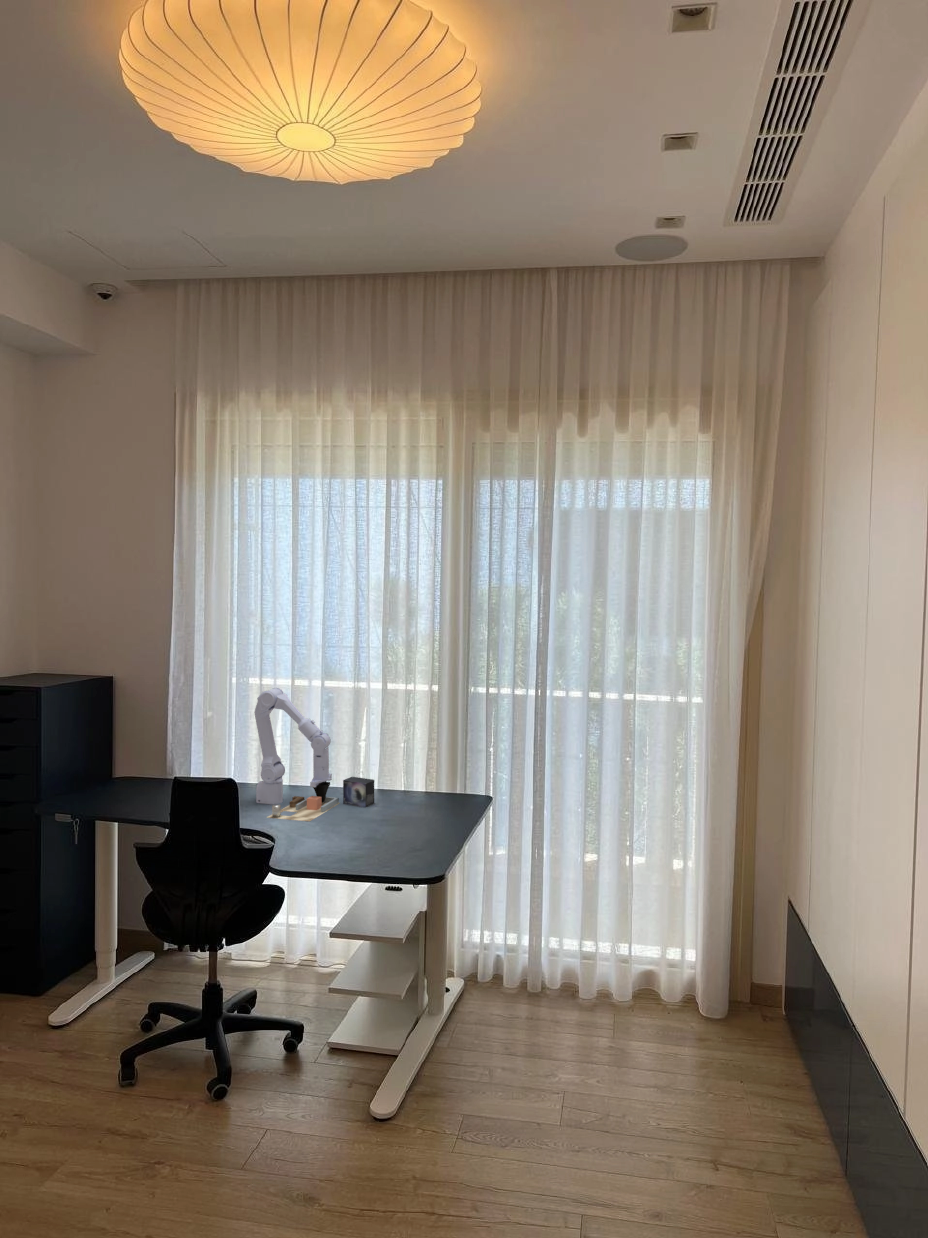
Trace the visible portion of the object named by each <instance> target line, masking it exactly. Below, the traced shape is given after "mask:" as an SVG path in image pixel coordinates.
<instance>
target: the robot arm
mask: <svg viewBox="0 0 928 1238" xmlns="http://www.w3.org/2000/svg"><path fill="white" fill-rule="evenodd" d="M275 709H276V710H282V711H283V712H285V714H287V715H288V716H289V717H290V718H291V720H293V721H294V722H296V724H297V726H298V727H297V728H298V730H299V731H300V732H301V734H302V735H303V736H304V737H305V738H306V739H307V740H308V741H309V742H310V747H311V748H312V750H313V755H312V756H313V757H312V758H313V759H312V762H313V766H312V767H313V768H312V771H313V777H312V779H311V781H310V782H309V785H310V788H313V790H314V792H315V796H318V797H322V803H323V802H324V801H325V797H327V792H328V789H329V788H330V785H331V782H330V781H332V779H333V776H332V773H330V772H329V771H330V770H329V769H330V766H329V765H330V763H329V762H330V760H329V759H330V757H329V755H330V754H329V747H330V745H331V743H332V741H331V737H330V736H329V734H328V733H327V732H324V731H323V730H322V729H320V728H319V727H318V726H317V725H316V724H315V723H316V721H315V719H311V718H305V716H304V715H303V714H302V713H301V711H299V709H298V708H297V707H296V705H295V704H294V703H293V702H292V701H291V699H290V698H289V696H288V695H287V694H286V693H284V691H283V690H282V689H281V688H279V687H274V688H271V689H268V690H264V691H262V692H261V693H260V695H258V697H257V702H256V705H255V708H254V719H255V722H256V723H255V724H256V728H257V733H258V737H259V743H260V749H261V753H262V761H261V764H260V767H261V770H260V777H261V780H259V782H258V783H257V785H256V791H255V795H256V797H255V798H256V802H255V803H257V804H263V805H277V804H278V805H280V804H282V803H283V801H284V794H283V793H284V792H283V791H284V788H283V787H284V785H283V783H284V782H283V780H284V779H283V776H285V773H286V767H285V765H284V764H283V763H282V758H281V757H280V755H278V752H277V747H276V740H275V737H274V736H275V735H274V732H273V731H274V730H273V727H272V721H271V714H272V711H273V710H275Z"/></svg>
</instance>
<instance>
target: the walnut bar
mask: <svg viewBox="0 0 928 1238" xmlns="http://www.w3.org/2000/svg"><path fill="white" fill-rule="evenodd" d="M303 800H305V796H297V795H293V797H292V800H290V801H289V805H290V807H296V804H298V803H300V802H301V801H303Z"/></svg>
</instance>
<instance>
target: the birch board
mask: <svg viewBox="0 0 928 1238" xmlns="http://www.w3.org/2000/svg"><path fill="white" fill-rule="evenodd" d="M325 804H326V803H322V806H323V805H325ZM339 804H341V802H339V803H338V804H336V805H335V806H333V807H331V808H330V809H328V810H326V811H325V812H321V808H320V809H318V810H309V809H307V806H305V807H303V808H301V809H300V810H296V807H290V804H288V805H286V806H285V807H283V808H281V813H283V812H291V813H294V814H292V815H281V817H279V818H275V819H277V820H278V819H279V820H289V821H299V822H300V821H301V822H311V821H313V820H315V819H316V818H318V817H320V816H321V815H323V814H324V813H326V812H328V811H330V810H331V809H334V807H336V806H338V805H339ZM266 818H267V819H268V818H269V819H274V818H273V817H272V814H270V815H268V816H266Z"/></svg>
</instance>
